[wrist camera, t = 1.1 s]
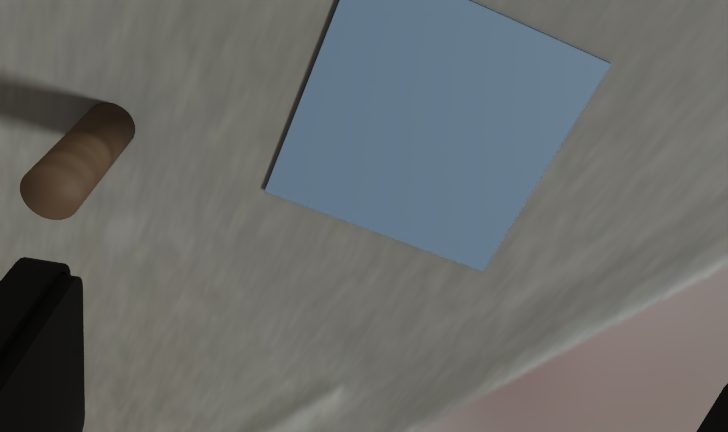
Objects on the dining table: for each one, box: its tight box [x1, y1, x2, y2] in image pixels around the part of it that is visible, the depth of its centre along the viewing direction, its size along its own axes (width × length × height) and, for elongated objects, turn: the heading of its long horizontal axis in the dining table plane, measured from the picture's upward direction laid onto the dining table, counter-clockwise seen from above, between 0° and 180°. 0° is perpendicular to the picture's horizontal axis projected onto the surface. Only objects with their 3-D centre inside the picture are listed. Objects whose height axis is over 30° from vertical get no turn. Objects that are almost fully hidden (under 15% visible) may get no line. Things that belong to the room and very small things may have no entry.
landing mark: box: [265, 0, 611, 272], centre depth 37 cm, size 14×14×1 cm
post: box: [20, 103, 135, 220], centre depth 33 cm, size 3×3×8 cm
